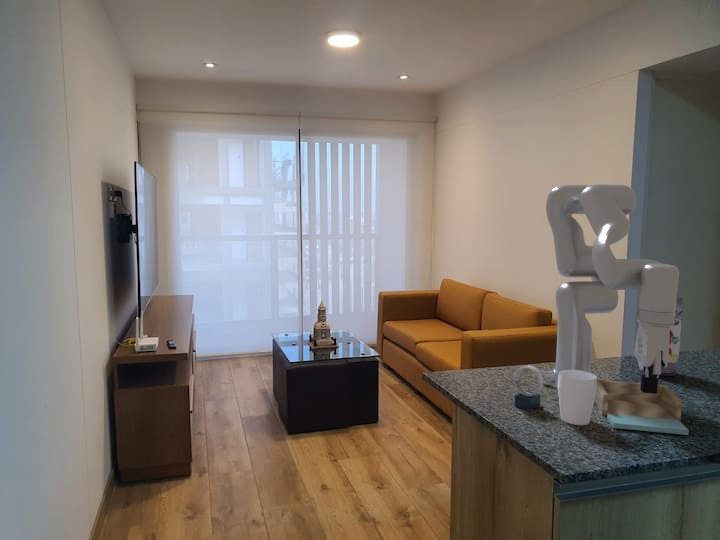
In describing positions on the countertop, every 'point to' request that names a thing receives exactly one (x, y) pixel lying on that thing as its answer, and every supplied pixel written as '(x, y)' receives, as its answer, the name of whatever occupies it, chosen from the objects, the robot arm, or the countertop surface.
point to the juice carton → (673, 342)
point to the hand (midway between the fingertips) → (648, 392)
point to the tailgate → (647, 424)
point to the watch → (527, 398)
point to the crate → (636, 400)
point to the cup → (576, 395)
